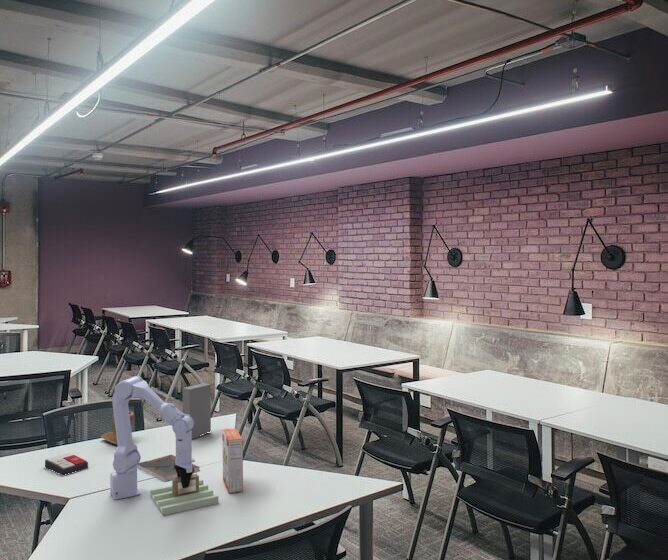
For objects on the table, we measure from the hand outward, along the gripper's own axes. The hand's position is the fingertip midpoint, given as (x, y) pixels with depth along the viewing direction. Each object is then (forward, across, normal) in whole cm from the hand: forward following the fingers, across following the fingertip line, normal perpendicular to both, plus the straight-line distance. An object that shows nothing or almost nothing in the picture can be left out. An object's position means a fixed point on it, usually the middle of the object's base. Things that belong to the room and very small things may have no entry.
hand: (183, 485), depth 214 cm
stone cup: (+5, +81, +8) cm, 81 cm away
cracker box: (+6, +3, -20) cm, 21 cm away
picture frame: (+6, +33, -3) cm, 34 cm away
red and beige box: (+6, +56, +34) cm, 66 cm away
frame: (+3, 0, -1) cm, 3 cm away
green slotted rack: (+5, 0, 0) cm, 5 cm away
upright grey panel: (+6, +71, -27) cm, 76 cm away
